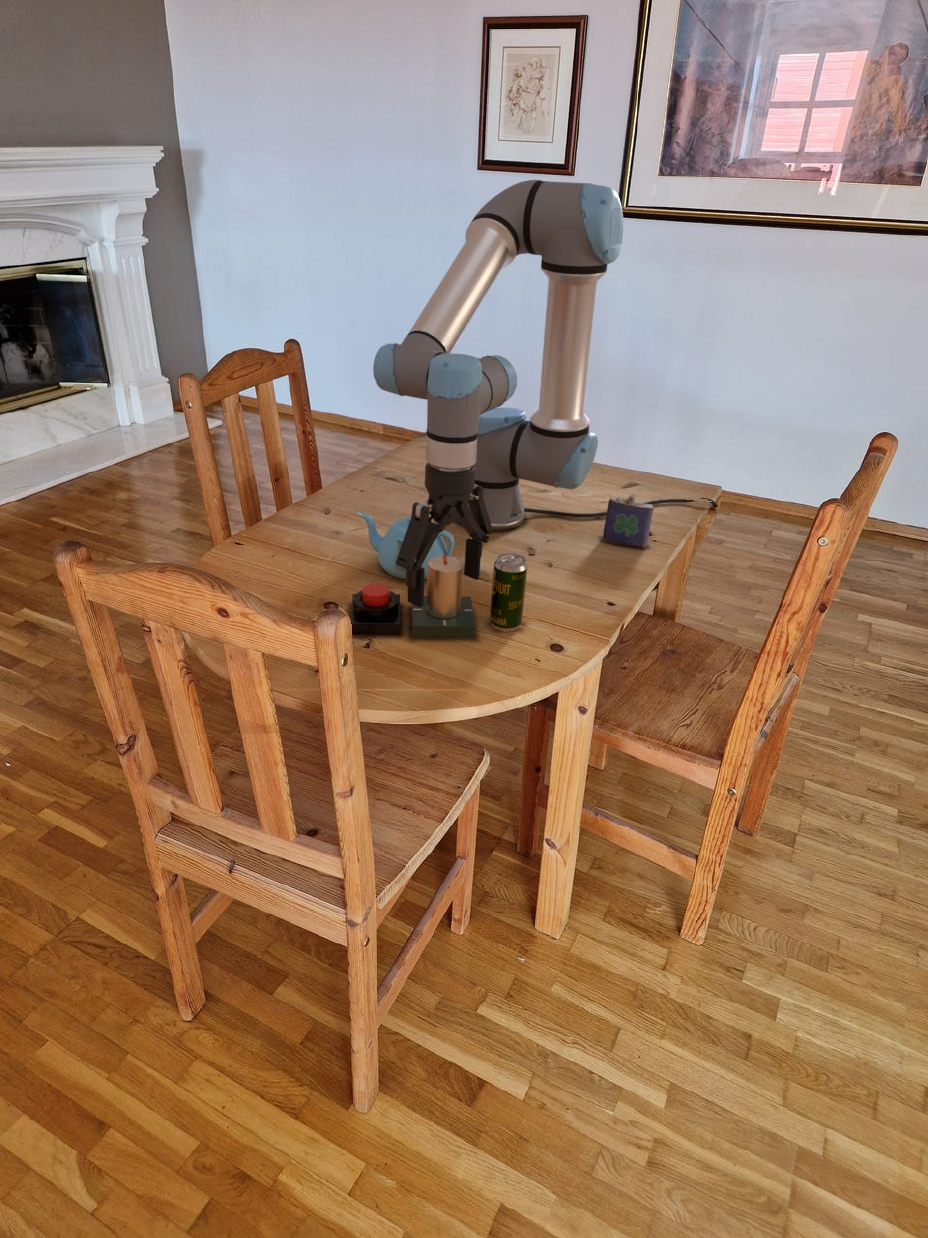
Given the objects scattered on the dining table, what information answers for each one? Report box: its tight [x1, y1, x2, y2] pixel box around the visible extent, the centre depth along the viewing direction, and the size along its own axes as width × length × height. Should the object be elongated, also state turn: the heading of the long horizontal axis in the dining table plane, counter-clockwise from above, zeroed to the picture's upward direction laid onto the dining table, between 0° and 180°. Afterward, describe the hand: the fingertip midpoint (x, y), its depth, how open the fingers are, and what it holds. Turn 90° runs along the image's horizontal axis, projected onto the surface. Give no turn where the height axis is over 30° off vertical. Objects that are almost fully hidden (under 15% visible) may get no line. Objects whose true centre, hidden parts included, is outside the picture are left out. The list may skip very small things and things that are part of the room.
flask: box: [602, 493, 655, 549], centre depth 165 cm, size 9×3×11 cm, turn 68°
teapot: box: [358, 499, 456, 580], centre depth 149 cm, size 15×15×10 cm
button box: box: [349, 590, 402, 636], centre depth 133 cm, size 8×10×4 cm
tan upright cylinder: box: [426, 555, 464, 619], centre depth 131 cm, size 6×6×9 cm
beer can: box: [489, 552, 528, 632], centre depth 132 cm, size 5×5×12 cm
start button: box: [361, 583, 391, 606], centre depth 132 cm, size 4×4×2 cm
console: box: [411, 595, 477, 640], centre depth 134 cm, size 10×10×3 cm
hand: (444, 590), depth 131 cm, fingers open, 13 cm apart
